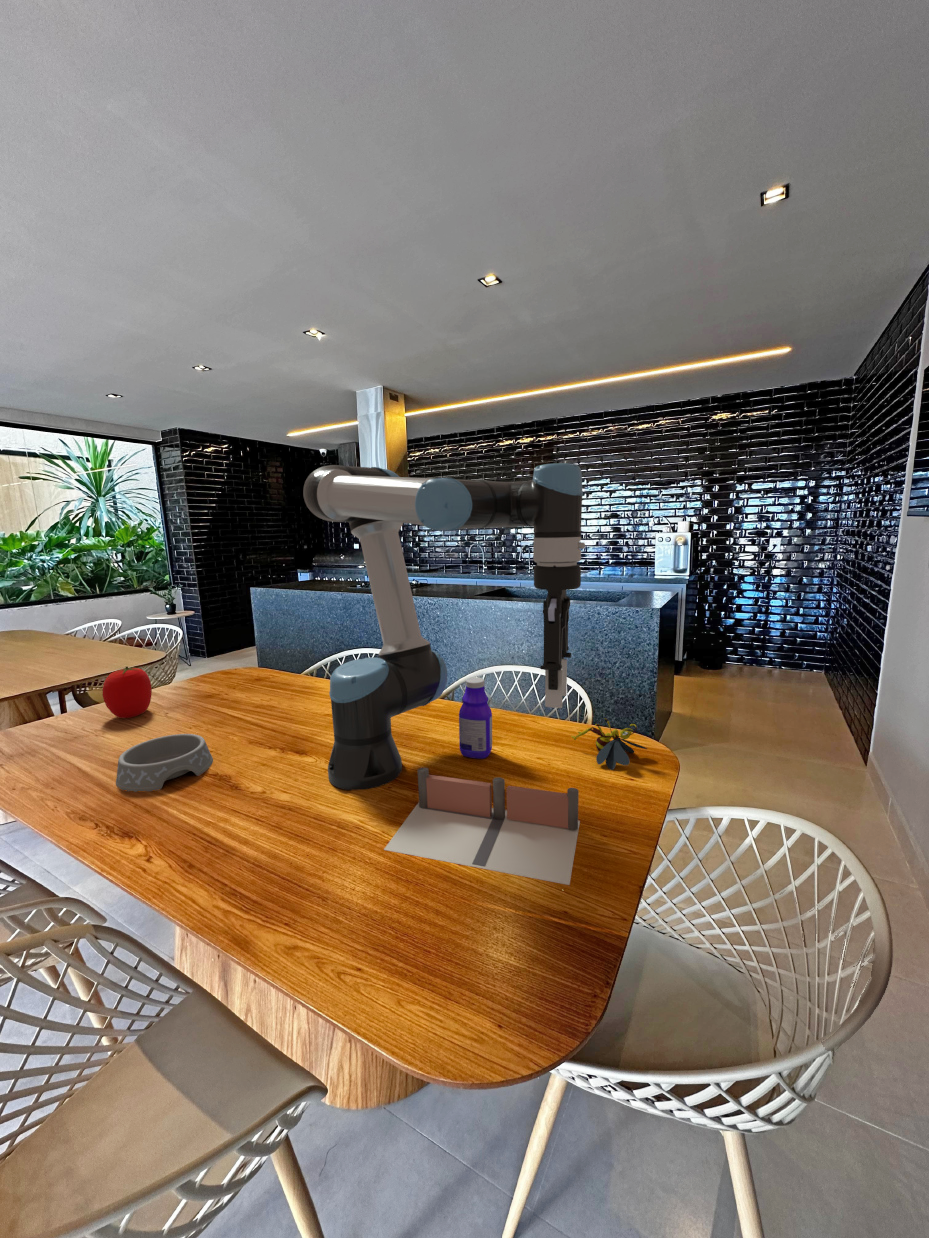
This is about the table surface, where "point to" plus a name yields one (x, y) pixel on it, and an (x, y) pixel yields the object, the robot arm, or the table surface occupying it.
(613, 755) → the toy
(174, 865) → the table surface
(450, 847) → the card
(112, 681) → the tomato
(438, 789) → the fence fixed
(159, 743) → the dog bowl
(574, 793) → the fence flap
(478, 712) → the bottle
